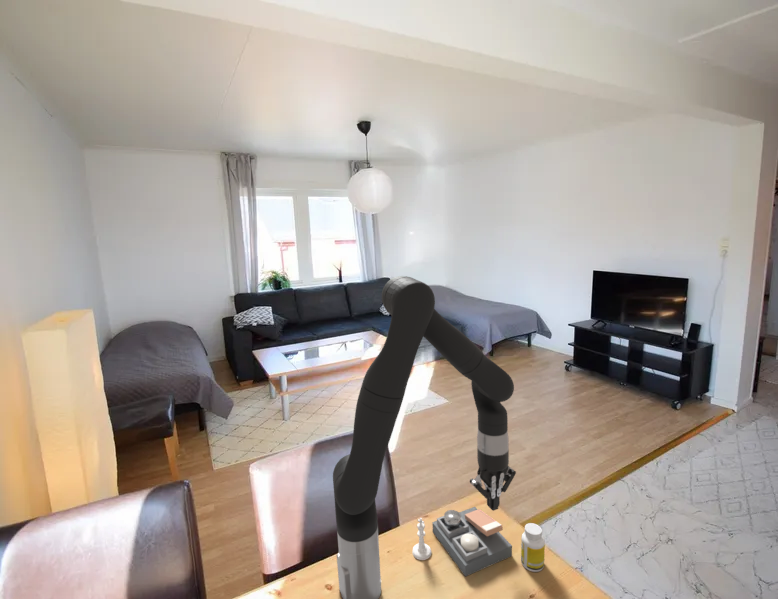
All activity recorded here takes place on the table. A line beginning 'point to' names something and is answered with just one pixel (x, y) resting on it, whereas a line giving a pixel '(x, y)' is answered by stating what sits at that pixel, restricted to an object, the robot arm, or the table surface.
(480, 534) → the panel
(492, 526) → the rocker
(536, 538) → the supplement bottle
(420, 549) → the chess piece
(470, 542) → the white button
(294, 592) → the table surface
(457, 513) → the metal button
